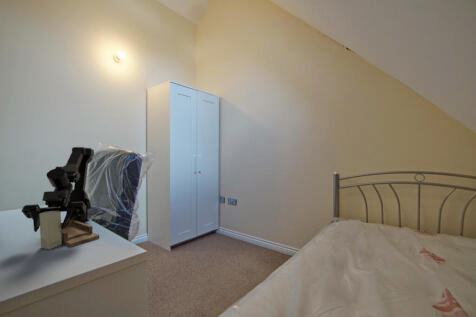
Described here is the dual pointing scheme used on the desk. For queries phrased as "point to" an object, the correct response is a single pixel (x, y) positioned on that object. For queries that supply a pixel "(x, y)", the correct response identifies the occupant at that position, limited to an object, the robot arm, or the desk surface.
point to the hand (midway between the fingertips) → (48, 230)
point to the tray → (77, 233)
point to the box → (50, 229)
